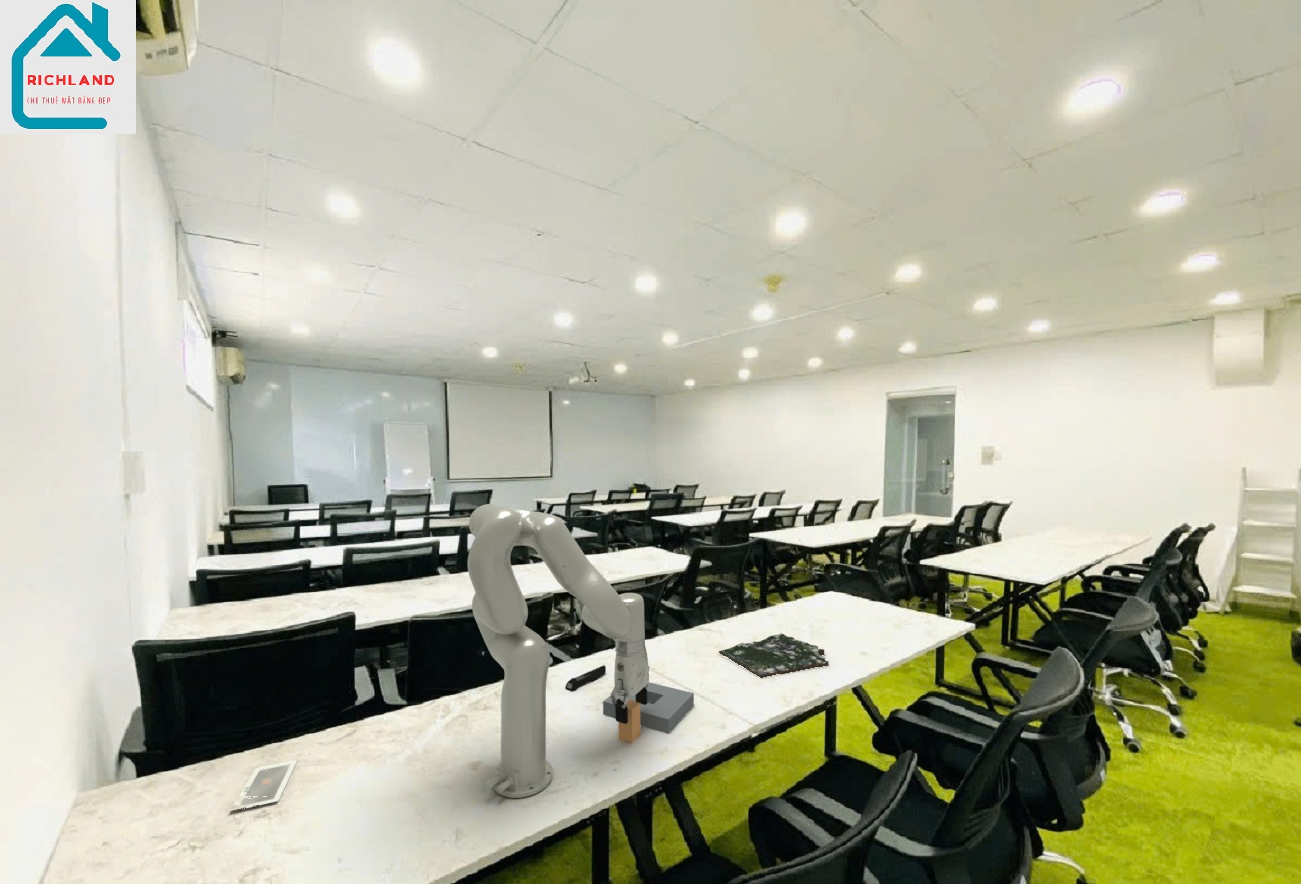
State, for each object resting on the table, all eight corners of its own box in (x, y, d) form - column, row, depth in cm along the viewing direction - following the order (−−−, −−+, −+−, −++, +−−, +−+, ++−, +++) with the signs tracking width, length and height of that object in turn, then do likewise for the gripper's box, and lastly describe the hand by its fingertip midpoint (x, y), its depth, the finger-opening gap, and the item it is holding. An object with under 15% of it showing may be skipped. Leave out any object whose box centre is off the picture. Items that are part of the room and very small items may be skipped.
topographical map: (719, 655, 176) (718, 647, 176) (787, 639, 191) (787, 631, 191) (768, 684, 153) (767, 674, 153) (841, 663, 168) (841, 654, 168)
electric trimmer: (608, 676, 159) (608, 666, 159) (572, 693, 147) (572, 682, 147) (600, 673, 161) (600, 663, 161) (564, 689, 149) (564, 678, 149)
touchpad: (297, 764, 113) (297, 754, 113) (278, 806, 99) (278, 795, 99) (255, 773, 110) (255, 763, 110) (229, 817, 96) (229, 806, 96)
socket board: (668, 733, 124) (668, 719, 125) (603, 714, 134) (603, 701, 134) (693, 705, 139) (693, 693, 139) (632, 690, 148) (632, 678, 148)
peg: (632, 743, 120) (632, 710, 121) (618, 739, 122) (618, 706, 123) (640, 735, 124) (640, 703, 124) (626, 731, 126) (626, 699, 126)
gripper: (625, 660, 115) (627, 734, 114) (659, 634, 130) (660, 700, 130) (598, 654, 118) (600, 726, 118) (634, 630, 133) (636, 694, 133)
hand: (632, 712), depth 124 cm, fingers open, 9 cm apart
